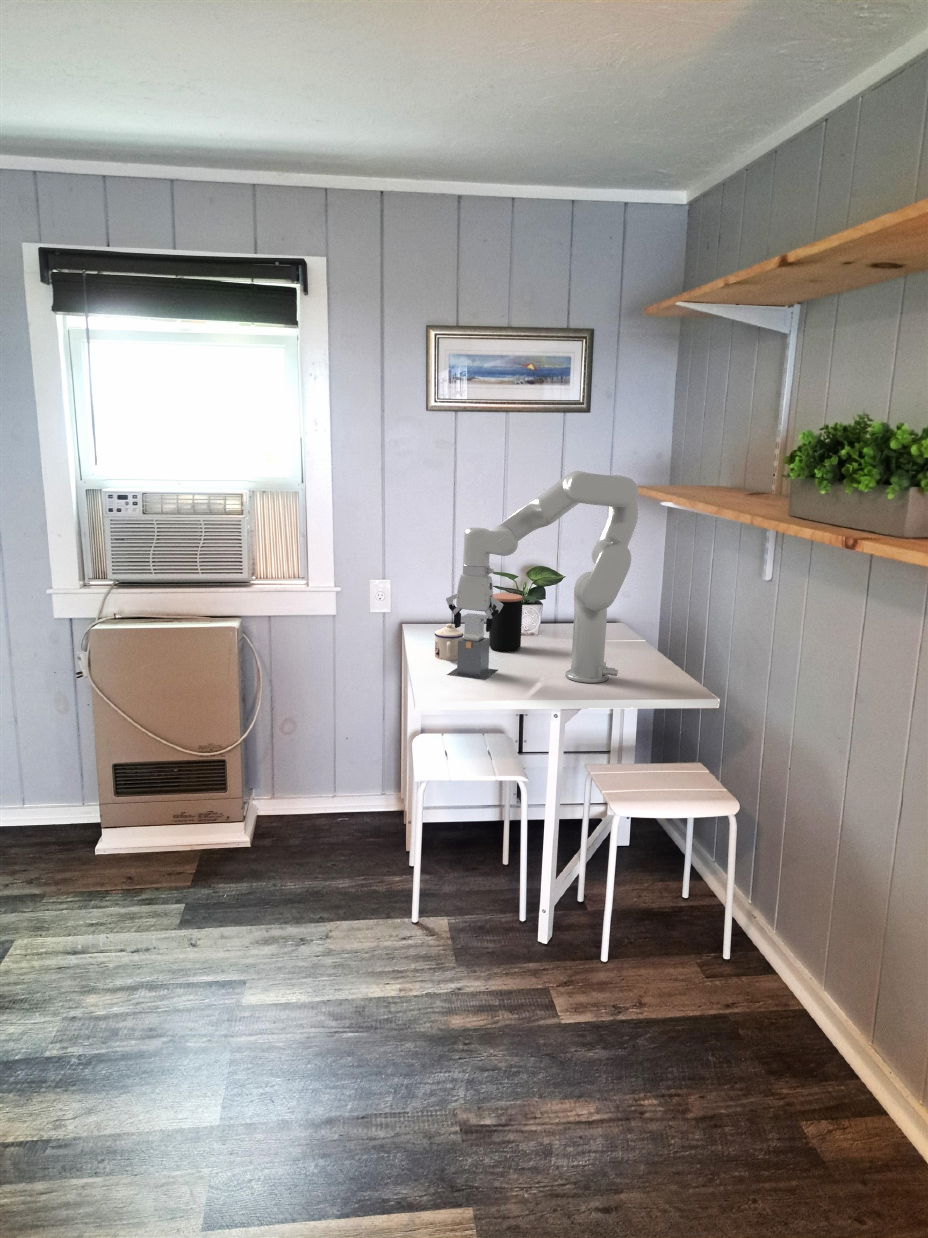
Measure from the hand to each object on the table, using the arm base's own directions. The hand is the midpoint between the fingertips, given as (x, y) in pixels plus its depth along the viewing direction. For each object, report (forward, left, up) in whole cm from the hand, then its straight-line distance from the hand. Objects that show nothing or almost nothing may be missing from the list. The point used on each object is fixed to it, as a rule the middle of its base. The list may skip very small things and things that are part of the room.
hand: (473, 629), depth 245 cm
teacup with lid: (+12, -12, -15) cm, 23 cm away
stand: (0, 0, -14) cm, 14 cm away
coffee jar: (+2, -36, -15) cm, 39 cm away
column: (0, 0, -13) cm, 13 cm away
